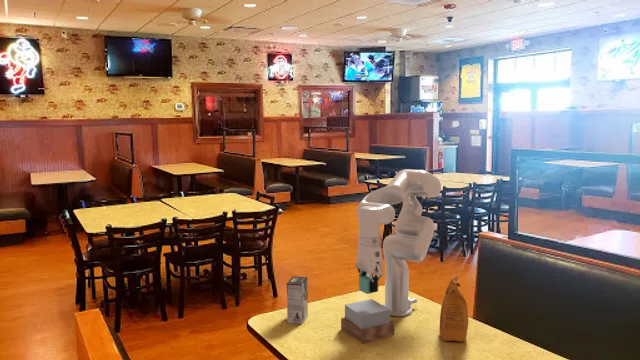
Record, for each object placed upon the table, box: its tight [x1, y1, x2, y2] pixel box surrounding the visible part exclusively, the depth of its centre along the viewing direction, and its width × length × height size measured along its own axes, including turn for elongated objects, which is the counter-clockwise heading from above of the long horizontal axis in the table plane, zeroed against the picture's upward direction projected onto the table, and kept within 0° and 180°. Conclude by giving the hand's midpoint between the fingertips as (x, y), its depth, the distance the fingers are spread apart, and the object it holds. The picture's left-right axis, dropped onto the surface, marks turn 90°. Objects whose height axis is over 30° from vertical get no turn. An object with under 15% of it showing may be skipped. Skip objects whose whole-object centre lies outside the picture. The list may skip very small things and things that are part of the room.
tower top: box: [344, 298, 391, 329], centre depth 180 cm, size 12×12×5 cm
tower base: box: [340, 316, 395, 345], centre depth 181 cm, size 14×14×5 cm
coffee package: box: [439, 273, 469, 342], centre depth 176 cm, size 10×12×22 cm
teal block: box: [358, 274, 379, 295], centre depth 178 cm, size 5×5×5 cm
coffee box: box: [286, 275, 309, 325], centre depth 192 cm, size 9×6×16 cm
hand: (368, 288), depth 178 cm, fingers closed on teal block, 5 cm apart
